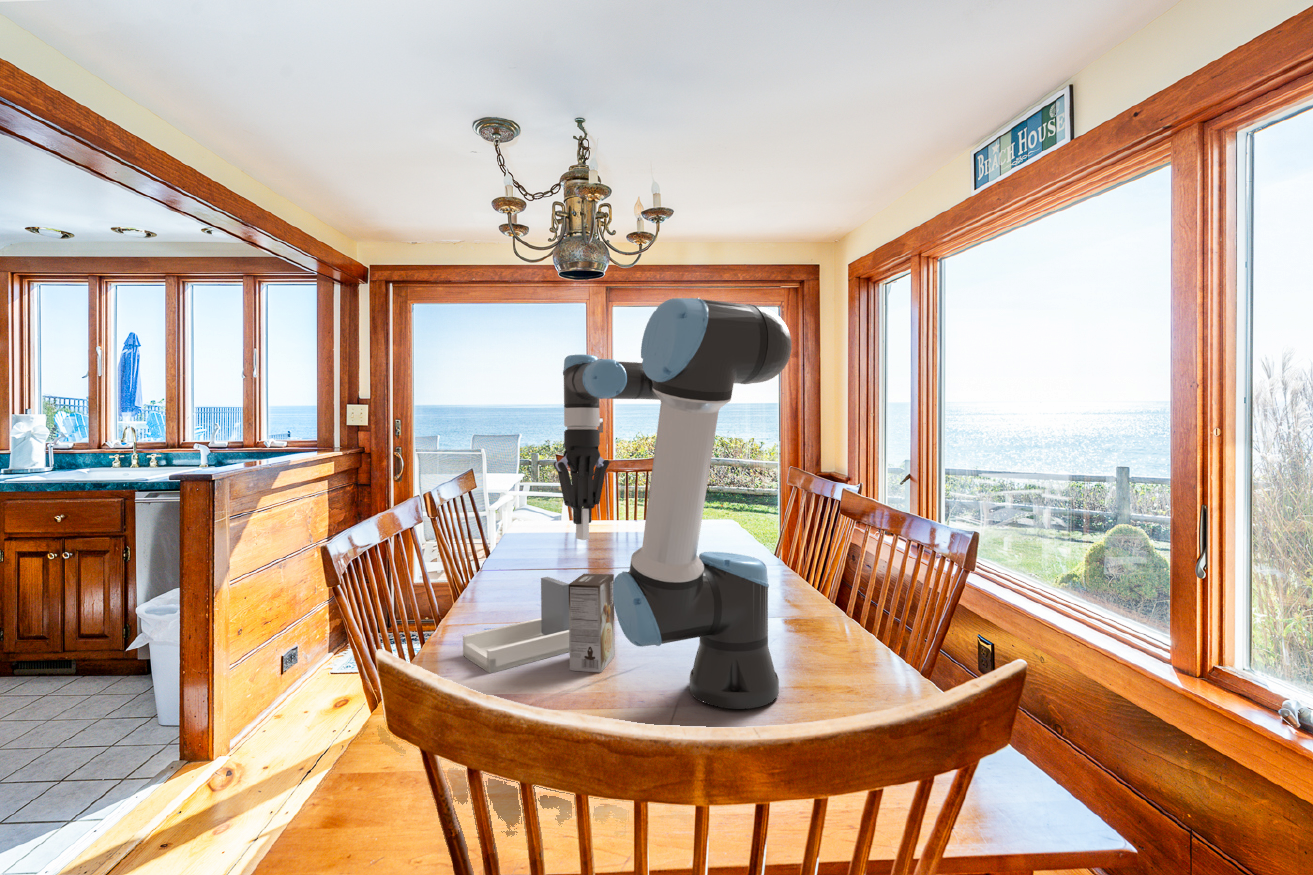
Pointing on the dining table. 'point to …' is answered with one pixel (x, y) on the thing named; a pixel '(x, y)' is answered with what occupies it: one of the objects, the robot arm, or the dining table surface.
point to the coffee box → (591, 622)
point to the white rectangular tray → (513, 645)
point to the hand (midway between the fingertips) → (582, 538)
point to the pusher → (554, 606)
